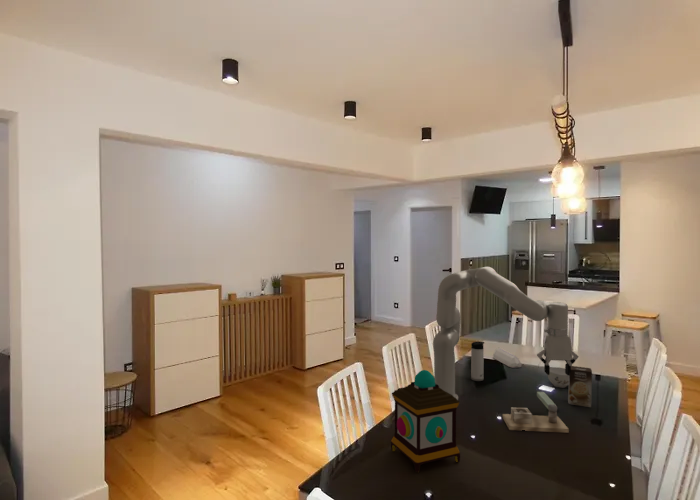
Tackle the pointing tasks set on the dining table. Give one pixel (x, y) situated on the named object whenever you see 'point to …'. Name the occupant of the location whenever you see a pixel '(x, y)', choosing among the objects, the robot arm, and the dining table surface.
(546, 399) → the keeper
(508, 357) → the crystal
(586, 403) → the coffee box
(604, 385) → the dining table surface
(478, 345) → the travel mug
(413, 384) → the decorative lantern
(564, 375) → the teacup
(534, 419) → the pintle board
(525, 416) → the collar
